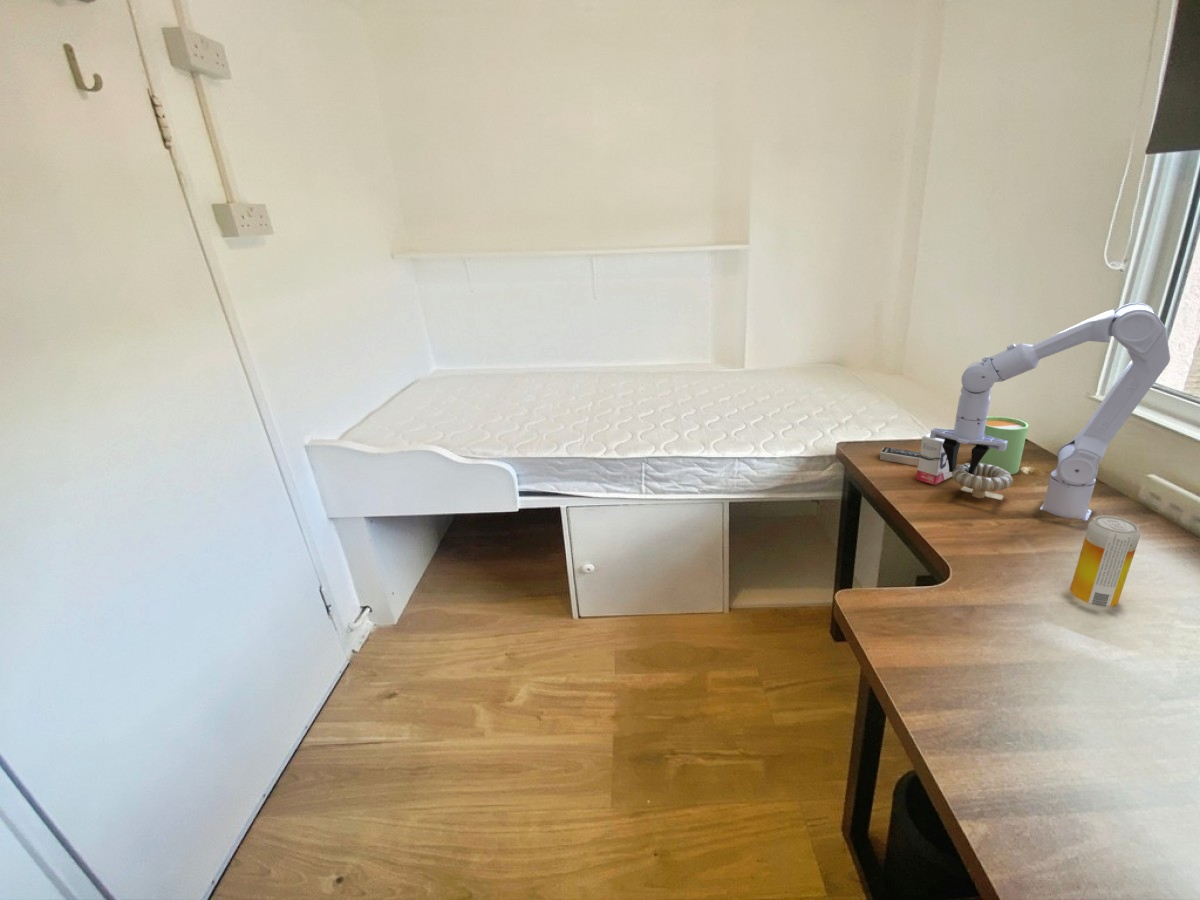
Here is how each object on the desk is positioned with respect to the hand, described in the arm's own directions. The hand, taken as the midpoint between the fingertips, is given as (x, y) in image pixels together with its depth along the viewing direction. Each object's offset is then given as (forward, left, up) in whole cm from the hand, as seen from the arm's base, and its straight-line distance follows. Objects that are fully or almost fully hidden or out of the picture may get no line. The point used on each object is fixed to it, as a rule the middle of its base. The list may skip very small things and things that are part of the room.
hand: (961, 472), depth 127 cm
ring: (0, +4, 0) cm, 4 cm away
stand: (0, +4, -6) cm, 7 cm away
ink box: (-7, -7, -6) cm, 12 cm away
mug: (-24, +1, -6) cm, 25 cm away
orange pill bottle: (+28, +28, -6) cm, 40 cm away
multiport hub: (-14, -17, -6) cm, 23 cm away
